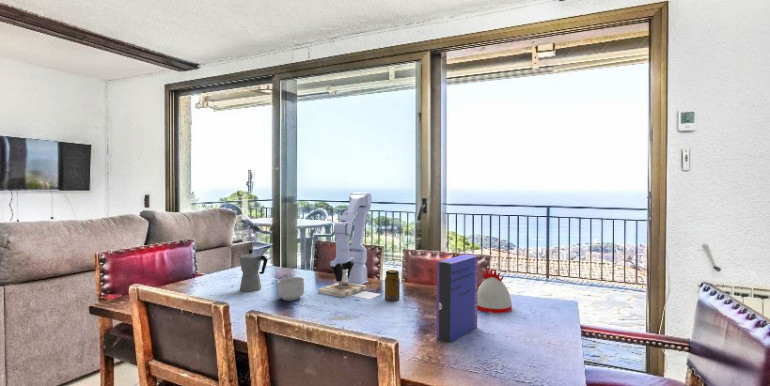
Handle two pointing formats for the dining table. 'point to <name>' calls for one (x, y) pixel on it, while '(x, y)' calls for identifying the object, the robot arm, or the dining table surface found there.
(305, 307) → the dining table surface
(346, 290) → the hole plate
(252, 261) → the coffeepot
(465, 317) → the blue book
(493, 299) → the beige rounded dome
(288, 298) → the teacup
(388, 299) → the condiment
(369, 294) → the tab
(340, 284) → the knob
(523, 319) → the dining table surface
